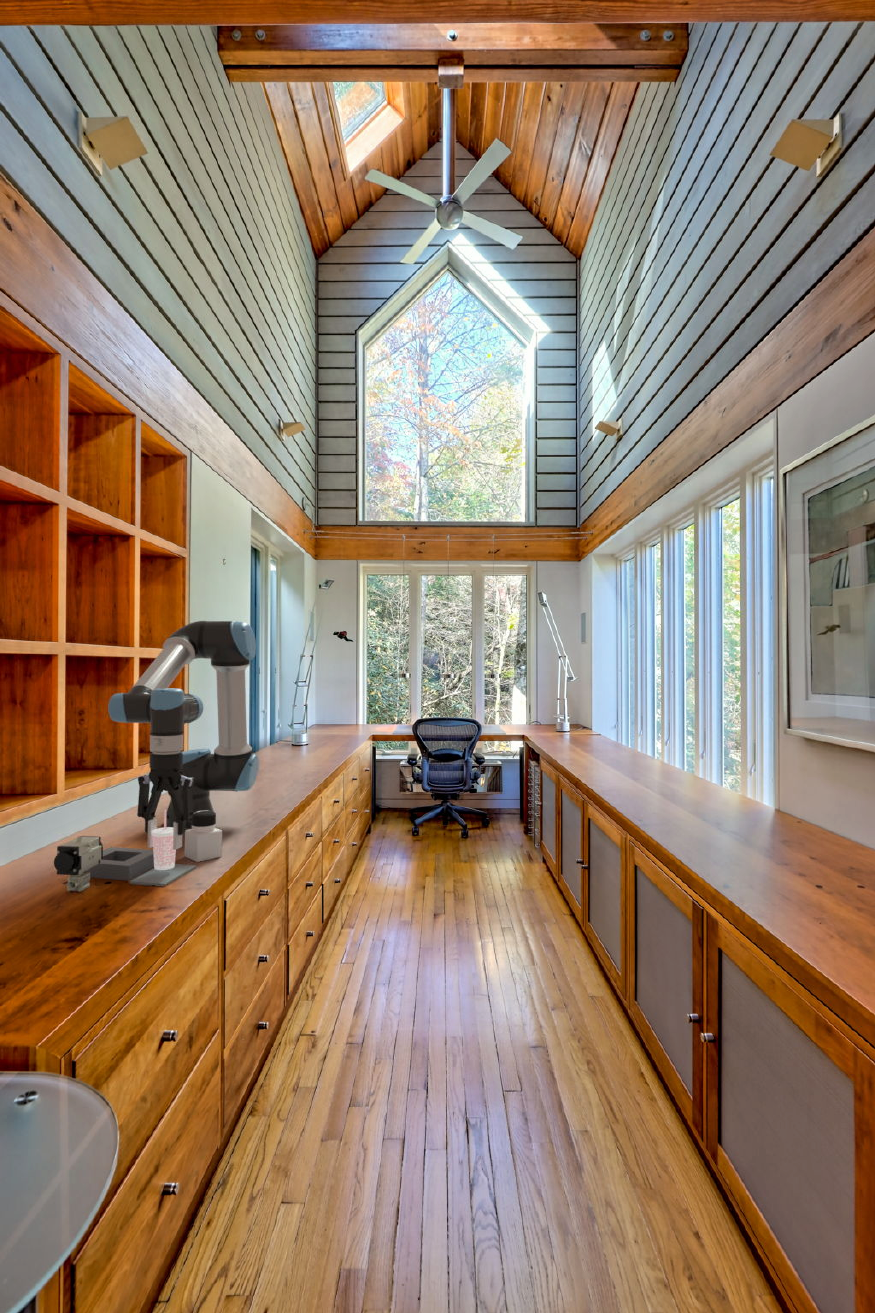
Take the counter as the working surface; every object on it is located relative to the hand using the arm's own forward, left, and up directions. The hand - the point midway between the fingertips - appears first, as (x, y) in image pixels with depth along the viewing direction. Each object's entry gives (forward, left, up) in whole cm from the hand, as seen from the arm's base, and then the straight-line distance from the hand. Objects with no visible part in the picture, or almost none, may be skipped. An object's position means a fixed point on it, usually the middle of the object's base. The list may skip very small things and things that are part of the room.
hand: (164, 847), depth 162 cm
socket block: (-1, -13, -7) cm, 15 cm away
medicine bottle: (-16, +2, -7) cm, 18 cm away
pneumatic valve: (+13, -13, -7) cm, 20 cm away
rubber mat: (0, 0, -7) cm, 7 cm away
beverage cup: (0, 0, -5) cm, 5 cm away
